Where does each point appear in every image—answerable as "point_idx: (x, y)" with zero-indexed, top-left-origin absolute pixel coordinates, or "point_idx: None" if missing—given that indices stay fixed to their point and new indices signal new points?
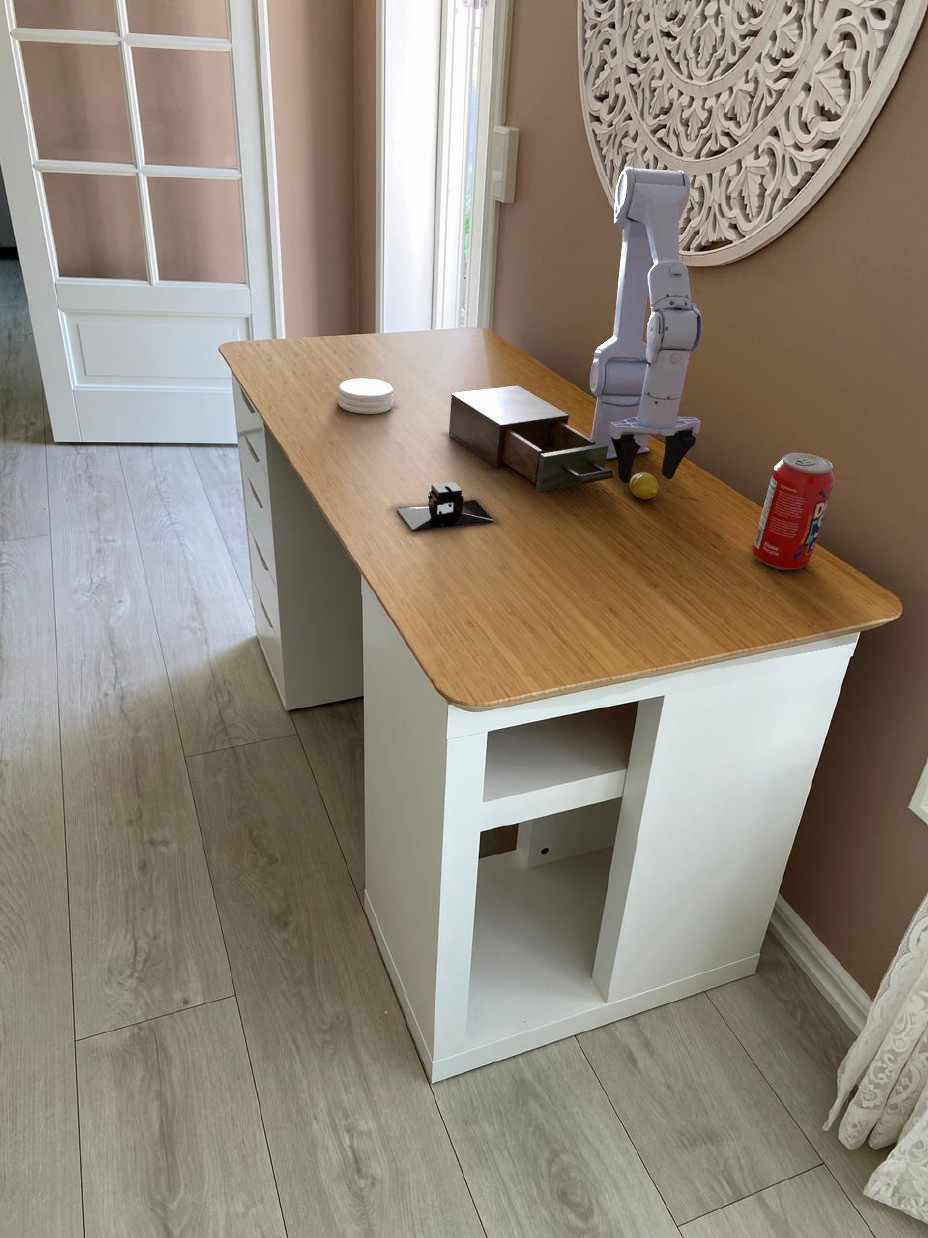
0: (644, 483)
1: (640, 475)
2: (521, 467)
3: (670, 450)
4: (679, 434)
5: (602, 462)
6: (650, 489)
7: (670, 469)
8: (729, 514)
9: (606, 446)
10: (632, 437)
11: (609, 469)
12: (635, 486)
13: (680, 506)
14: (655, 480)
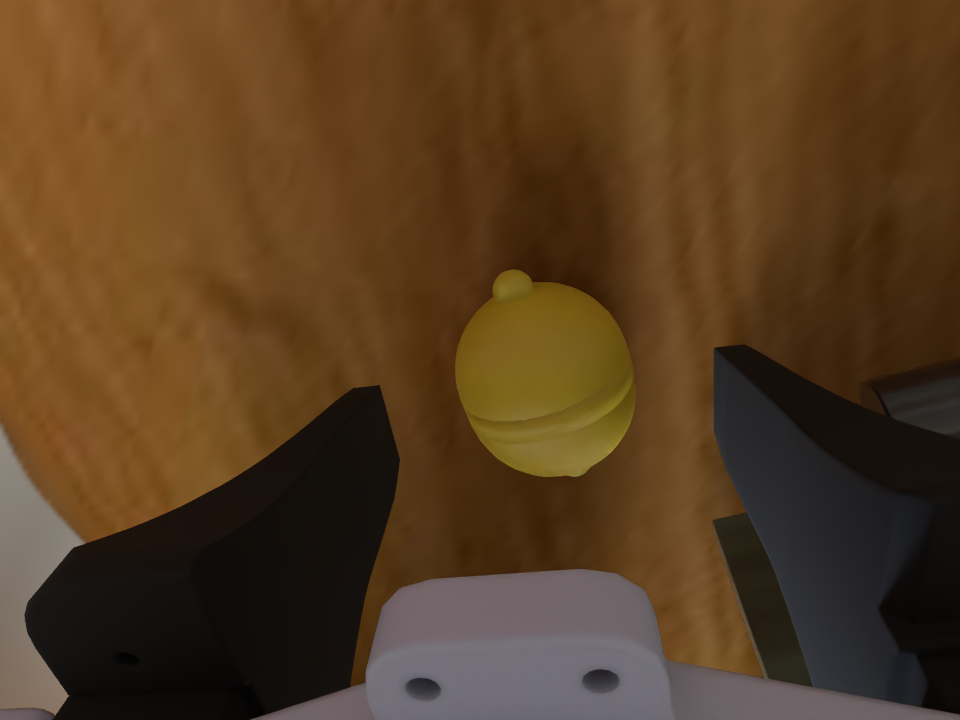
0: (586, 338)
1: (592, 419)
2: None
3: (334, 575)
4: (224, 700)
5: (772, 600)
6: (542, 296)
7: (360, 428)
8: (25, 76)
9: None
10: (957, 673)
11: None
12: (627, 354)
13: (334, 213)
14: (490, 363)
